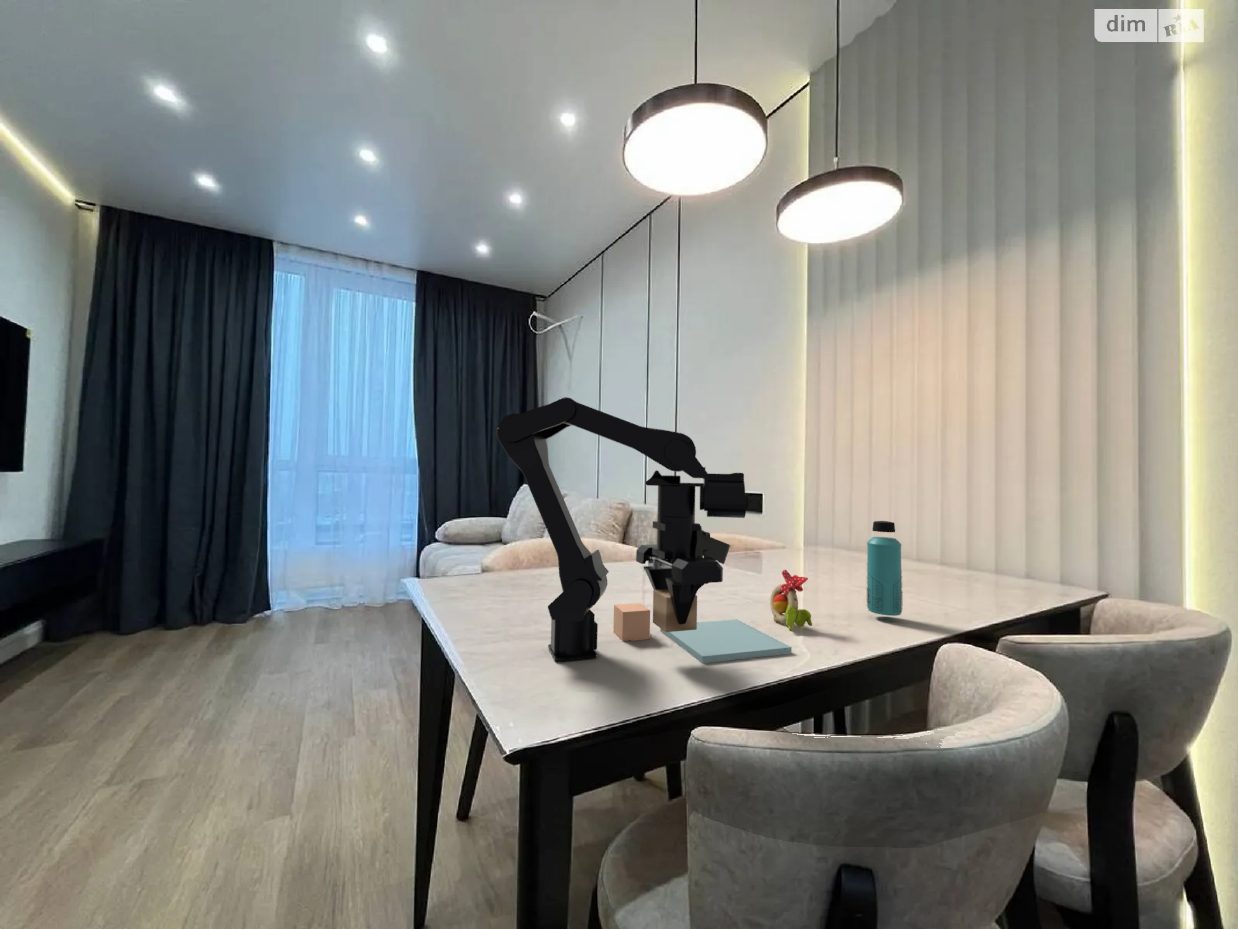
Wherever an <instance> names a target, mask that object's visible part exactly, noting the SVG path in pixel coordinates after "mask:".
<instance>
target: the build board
mask: <svg viewBox="0 0 1238 929" xmlns="http://www.w3.org/2000/svg"><path fill="white" fill-rule="evenodd" d="M659 629H660V630H659V631H660V632H661V633H662V634H664V635H665V636H666V637H668V639H670V640H672V641H673V642H674V643H675V644H677V645H678V646H679V647H680V648H682V649H683V650H685V651H686V652H687V653H689V654H690V655H691V656H692V657H694V658H695V659H696V660H697V661H699V662H700V663H701V664H707V663H718V662H723V661H724V662H725V661H733V660H745V659H753V658H763V657H771V656H779V654H782V655H790V654H792V646H790V645H788V644H786V643H784V642H783V641H780V640H778V639H777V638H775V637H773V636H771V635H769V634H767V633H766V632H763V631H760V630H759V629H757V628H756V627H753V626H751V625H750V624H747V623H746V622H743V621H742V620H739V619H738V618H737V619H735V618H734V619H725V620H724V619H722V620H713V621H711V620H710V621H699V622H698V621H697V630H686V631H675V632H665V631H663V630H662V629H661V628H659Z"/></svg>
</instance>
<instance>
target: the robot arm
mask: <svg viewBox="0 0 1238 929" xmlns="http://www.w3.org/2000/svg"><path fill="white" fill-rule="evenodd" d="M572 426H573V427H576V428H579V429H582V430H584V431H586V432H589V433H592V434H594V435H597V436H599V437H602V438H605V439H607V440H610V441H613V442H614V443H618V444H620V445H623V446H626V447H628V448H631V449H633V450H635V451H637V452H639V453H640V454H642V455H644V456H645V457H647V458H649V459H650V460H652V461H653V462H655V463H657V464H659V465H661V467H664V468H665V469H666V470H668V471H671V472H676V473H680V472H682V473H683V472H684V474H686V475H688V476H689V477H691V478H692V479H702V480H703V482H702V483H701V482H700V483H699V482H682V481H681V479H682V478H681V475H667V474H665V475H662V474H661V473H660V471H659V470H657V469H656V470H655V471H654V472H653V473H652V475H651V477H649V478H648V479H647V480H646V481H645V485H646V486H655V487H656V486H657V517H656V520H655V521H654V520H653V521H652V529H655V530H656V544H641V545H640V546H639V547H638V548H637V549H636V551H635V552H636V554H635V557H636V559H635V561H636V562H637V563H639V564H641V565H645V564H646V563H647V565H646V566H643V570H644V571H645V573H646V575H647V578H648V579H649V582H650V584H651V587H652V589H653V590H663V589H669V593H670V597H671V600H672V604H673V608H674V611H675V615H676V618H677V621H678V623H679V624H685V623H686V621H687V618H688V615H689V612H690V609H691V606H692V603H693V601H694V598H695V595H697V592H698V591H699V590H700V589H701V588H702V587H703V586H704V585H708V584H711V583H722V582H723V581H724V568H723V567H722V565H725V563H726V560H727V556H728V553H729V550H730V547H731V544H729V543H727V542H724V541H721V540H719V539H717V538H714V537H712V536H711V533H710V532H708V531H704V530H703V529H702V526H701V524H700V523H697V522H696V487H699V510H700V511H704V512H706V517H707V518H732V519H733V518H735V519H736V518H737V519H744V518H745V517H746V514H747V496H748V495H747V494H746V487H745V486H746V484H745V473H743V472H732V473H708V472H707V469H706V467H705V466H703V465H702V463H701V462H700V461H699V460H698V458H697V449H696V445H695V443H694V441H693V439H692V438H691V437H690V436H688V435H686V434H685V433H682V432H677V431H671V430H666V429H661V428H653V427H646V426H641V425H639V424H635V423H633V422H630V421H628V420H625V419H622V418H620V417H617V416H615V415H612V414H609V413H606V412H603V411H601V410H599V409H596V408H594V407H591V406H589V405H585V404H582V403H580V402H578V401H576V400H574V399H573V398H571V397H568V396H567V397H566V396H564V397H561V398H559V399H557V400H555V401H553V402H551V403H547V404H544V405H541V406H538V407H535V408H532V409H528V410H526V411H524V412H522V413H521V414H520V413H511V414H508V415H506V416H504V417H503V418H502V419H501V420H500V421H499V423H498V426H497V428H496V432H495V433H496V438H497V441H498V442H499V444H500V445H501V447H502V449H503V450H504V452H505V453H506V455H507V456H508V458H509V459H510V460H511V461H512V462H513V463H514V465H516V467H517V468H518V469H519V471H520V472H521V473H522V474H523V477H524V478H525V481H526V484H527V486H528V488H529V491H530V493H531V496H532V498H533V500H534V503H535V505H536V507H537V509H538V512H539V515H540V517H541V519H542V521H543V524H544V526H545V529H546V531H547V533H548V536H549V537H550V540H551V542H552V544H553V547H554V551H555V553H556V555H557V563H558V575H559V576H558V577H559V581H560V586H561V590H562V592H561V594H559V595H558V596H557V597H556V598H554V600H552V602H551V603H549V604H548V605H547V609H548V613H549V616H550V619H551V622H550V626H551V628H550V644H547V645H548V646H547V648H548V651H549V652H550V654H551V656H552V658H553V660H554V661H555V662H565V661H574V660H575V661H576V660H587V659H595V658H597V657H598V654H597V652H596V650H598V628H599V626H598V625H599V623H597V622H596V620H595V613H594V612H593V611H592V610H591V609H592V608H593V606H595V605H596V604H597V602H598V601H599V600H600V599H601V597H602V596H603V595H604V593H605V592H606V590H607V587H608V578H607V574H609V572H610V570H608V569H607V567H605V565H604V563H603V559H602V556H601V552H600V550H599V549H596V550H595V551H593V552H591V551H590V550H589V548H587V547H586V545H585V544H584V543H583V540H582V539H581V536H580V533H579V532H578V529H577V527H576V525H575V522H574V520H573V517H572V515H571V513H570V510H569V507H568V506H567V503H566V501H565V499H564V496H563V495H562V492H561V490H560V488H559V485H558V482H557V480H556V478H555V476H554V473H553V471H552V468H551V466H550V462H549V448H548V445H547V444H548V443H547V439H550V438H552V437H554V436H556V435H558V434H559V433H561V432H562V431H564V430H565V429H567V428H569V427H572ZM721 564H722V565H721Z"/></svg>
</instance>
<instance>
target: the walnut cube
mask: <svg viewBox="0 0 1238 929" xmlns="http://www.w3.org/2000/svg"><path fill="white" fill-rule="evenodd" d="M652 593H653V595H652V623H653V624H654V625H656V626H657V627H658V628H659V629H660V628H661V629H662V630H663V631H665V632H675V631H686V630H697V622H698V595H697V594H696V595H695V598H694V601H693V603H692V606H691V609H690V612H689V615H688V618H687V621H686V623H685V624H679V623H678V621H677V618H676V615H675V611H674V608H673V604H672V600H671V597H670V593H669V589H663V590H654V589H653V591H652Z"/></svg>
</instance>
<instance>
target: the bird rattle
mask: <svg viewBox="0 0 1238 929" xmlns="http://www.w3.org/2000/svg"><path fill="white" fill-rule="evenodd" d="M781 575H782V576H783V579H784V581H785V583H783V584H782V583H780V584H778V585H776V586H775V587H774V588H773V589H772V591H771V594H770V598H769V603H770V604H769V605H770V610H771V613H772V615H773V622H774V623H786V626H787V627H788V631H792V629H793V626H794V625H796V627H798V628H802V627H805V624H806V623H807V625H808V626H809V627H812V626H813V622H812V614H811V612H810V611H809V610H807V609H803V608H802V609H801V608H799V600H798V599H799V598H798V595H797V592H803V590H804V588H803V586H802V585H803V584H805V583H806V582H807V581H808V580H809V578H808V577H805V576H799V575H797V574H793V575H791V574H790V572H789V571H788V570H787V569H783V570H782V571H781ZM798 608H799V609H798Z"/></svg>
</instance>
